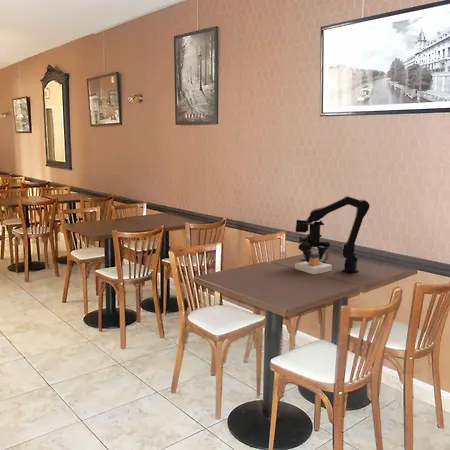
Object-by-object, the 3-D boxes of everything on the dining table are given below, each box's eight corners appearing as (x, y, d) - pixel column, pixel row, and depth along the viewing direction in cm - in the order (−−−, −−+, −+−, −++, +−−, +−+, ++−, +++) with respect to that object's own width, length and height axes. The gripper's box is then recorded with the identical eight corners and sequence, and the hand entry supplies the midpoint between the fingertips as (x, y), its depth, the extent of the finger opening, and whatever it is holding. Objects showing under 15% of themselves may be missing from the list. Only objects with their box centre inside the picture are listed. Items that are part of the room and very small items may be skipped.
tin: (328, 262, 278) (329, 248, 277) (326, 263, 276) (327, 249, 274) (304, 259, 286) (304, 245, 285) (302, 260, 284) (302, 246, 282)
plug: (313, 268, 265) (313, 252, 263) (318, 270, 261) (319, 254, 260) (308, 269, 262) (308, 253, 261) (313, 271, 259) (314, 254, 258)
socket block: (313, 265, 272) (313, 260, 271) (331, 270, 260) (332, 265, 260) (295, 268, 264) (295, 263, 263) (313, 274, 252) (313, 269, 252)
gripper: (315, 229, 270) (314, 255, 273) (291, 232, 260) (290, 260, 262) (330, 232, 261) (329, 259, 264) (306, 235, 251) (305, 264, 253)
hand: (313, 261), depth 261 cm, fingers open, 9 cm apart
